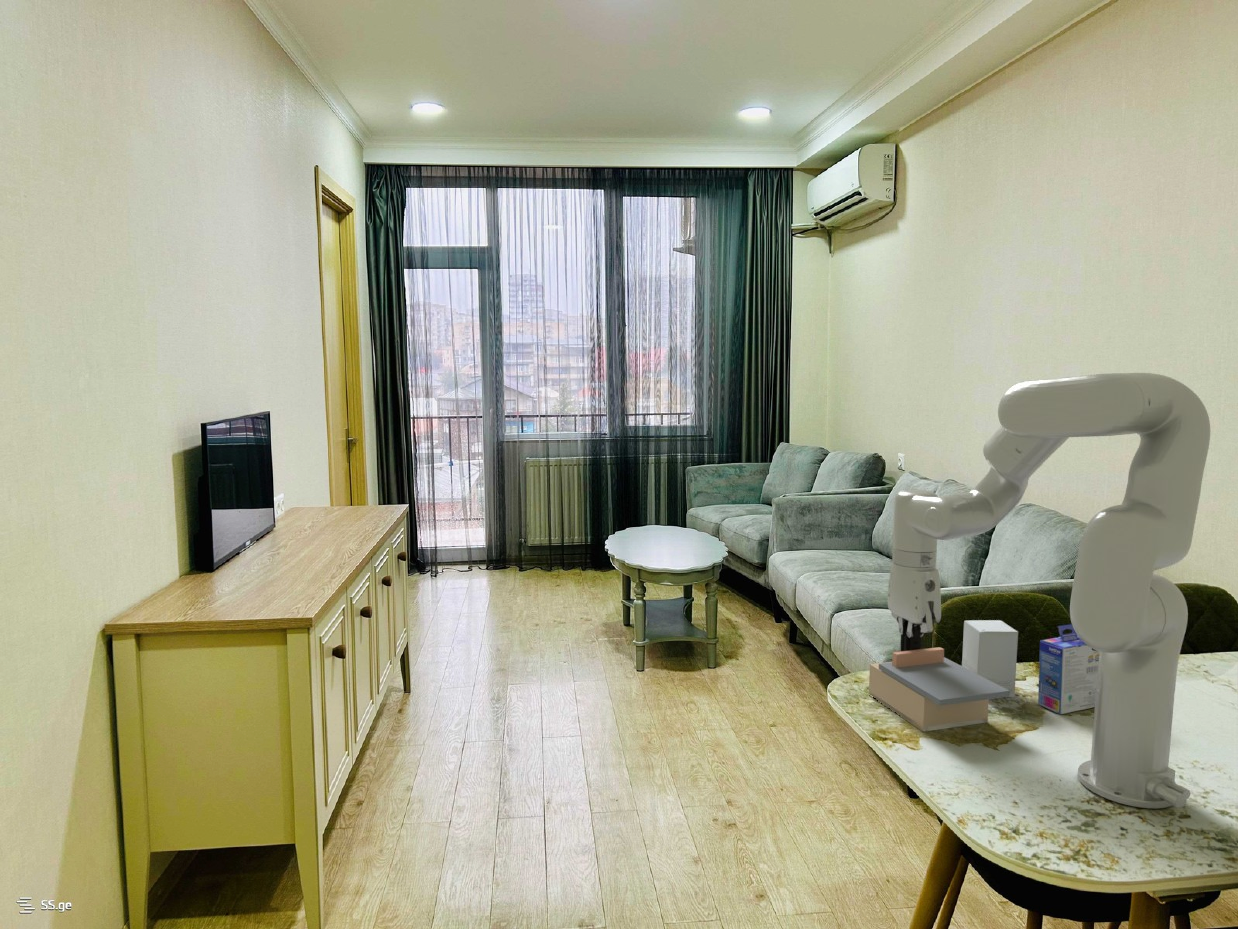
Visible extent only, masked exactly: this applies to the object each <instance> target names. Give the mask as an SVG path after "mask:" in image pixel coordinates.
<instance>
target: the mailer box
mask: <svg viewBox="0 0 1238 929" xmlns="http://www.w3.org/2000/svg"><path fill="white" fill-rule="evenodd" d="M889 662H890V661H886V662H884V663H889ZM880 663H881V662H877V663H870V664H869V674H868V675H869V676H868V678H869V680H868V695H869V694H870V695H872V696H873V697H874V698H876V699H877V700H878V701H879V702H881V703H882V704H883V706H884V705H885V706H887V707H888V708H890V709H891V710H892V711H891V710H890V709H889V710H890V711H891V712H893V713H894V712H896V713H897V714H898V716H899V715H900V716H901V717H900V716H899V717H900V718H902V719H904V720H905V721H906V720H907V721H906V722H908V723H909V722H910V723H909V724H911V725H912V726H913V727H915V726H916V727H915V728H917V729H918V730H920V731H921V732H931V731H937V730H946V729H951V728H959V727H964V726H965V727H966V726H973V725H978V724H979V725H980V724H985V723H987V724H988V722H989V707H990V706H989V705H990V699H987V700H980V701H972V702H965V703H957V704H950V705H942V706H939V705H937V704H936V703H934V702H932V701H931V700H929V699H927V698H926V697H924V696H922V695H921V694H919V693H918V692H916V691H914V690H913V689H911V688H909V687H908V686H906V685H904V684H903V683H901V682H899V681H898V680H896V679H894V678H893V677H891V676H889V675H888V674H886V673H885V672H883V671H881V670H880V669H879V664H880ZM874 698H873V699H874ZM877 700H876V701H877ZM878 701H877V702H878ZM879 702H878V703H879ZM881 703H880V704H881ZM882 704H881V705H882ZM885 706H884V707H885ZM887 707H886V708H887ZM888 708H887V709H888ZM896 713H895V714H896ZM897 714H896V715H897Z"/></svg>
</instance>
